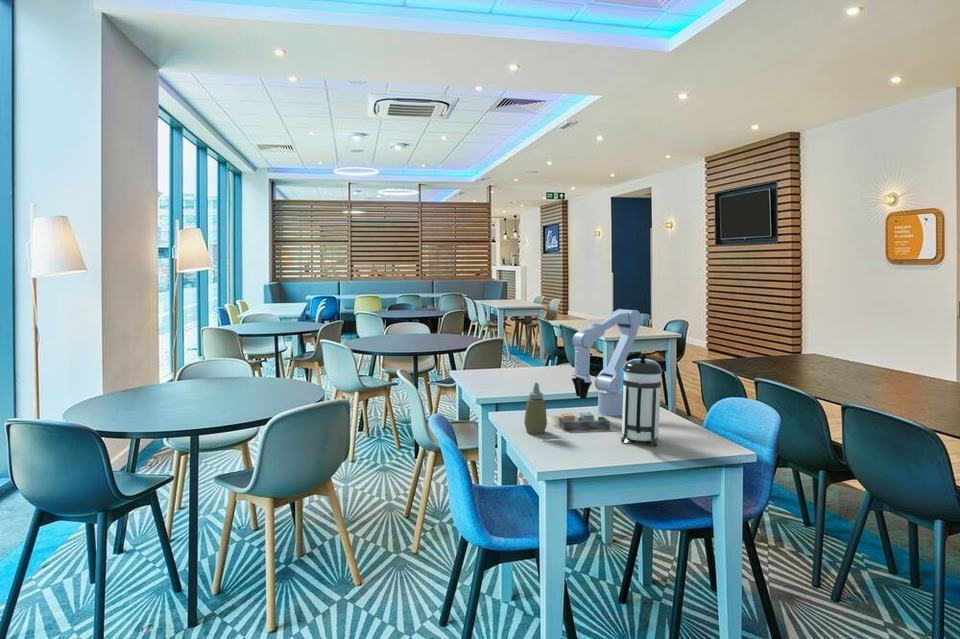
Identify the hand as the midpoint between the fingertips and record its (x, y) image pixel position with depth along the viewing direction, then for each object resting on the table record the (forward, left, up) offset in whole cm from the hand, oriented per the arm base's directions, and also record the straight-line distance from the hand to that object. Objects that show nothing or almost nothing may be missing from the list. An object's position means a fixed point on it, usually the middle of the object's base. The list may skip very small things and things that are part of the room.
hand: (581, 397), depth 220 cm
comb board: (+4, +8, -8) cm, 13 cm away
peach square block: (+8, +7, -8) cm, 13 cm away
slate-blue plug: (0, +7, -8) cm, 11 cm away
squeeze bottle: (+23, +18, -9) cm, 31 cm away
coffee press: (-10, +32, -9) cm, 35 cm away
